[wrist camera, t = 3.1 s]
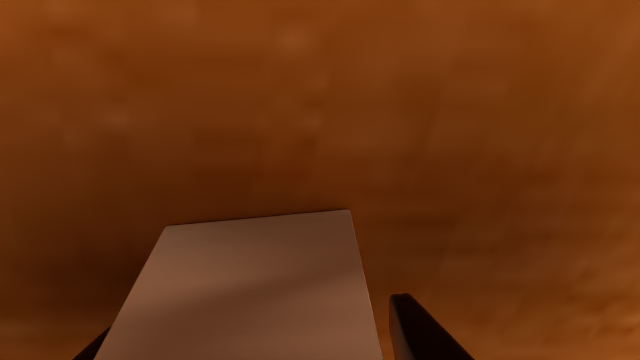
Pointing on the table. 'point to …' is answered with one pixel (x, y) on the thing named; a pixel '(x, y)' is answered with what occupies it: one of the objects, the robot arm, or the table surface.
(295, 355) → the block
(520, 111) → the table surface
